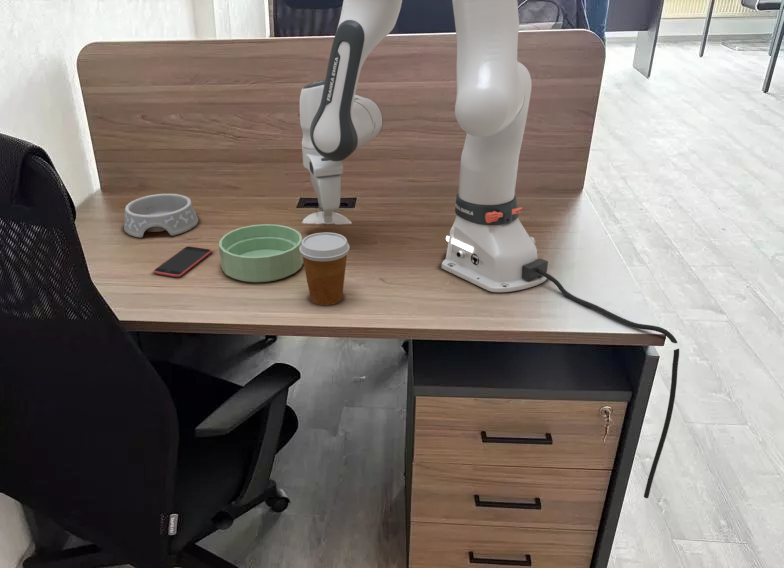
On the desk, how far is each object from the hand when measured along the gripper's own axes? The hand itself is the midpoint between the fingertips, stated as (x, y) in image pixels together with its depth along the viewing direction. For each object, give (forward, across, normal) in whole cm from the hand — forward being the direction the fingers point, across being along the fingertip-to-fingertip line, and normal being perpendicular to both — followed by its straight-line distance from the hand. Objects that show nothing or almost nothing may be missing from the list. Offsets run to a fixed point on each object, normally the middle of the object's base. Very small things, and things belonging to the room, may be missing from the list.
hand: (325, 216), depth 168 cm
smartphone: (+4, +9, -33) cm, 35 cm away
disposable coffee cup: (+5, +32, -5) cm, 33 cm away
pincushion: (+2, 0, 0) cm, 2 cm away
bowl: (+4, +14, -16) cm, 22 cm away
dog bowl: (+4, -16, -39) cm, 42 cm away
